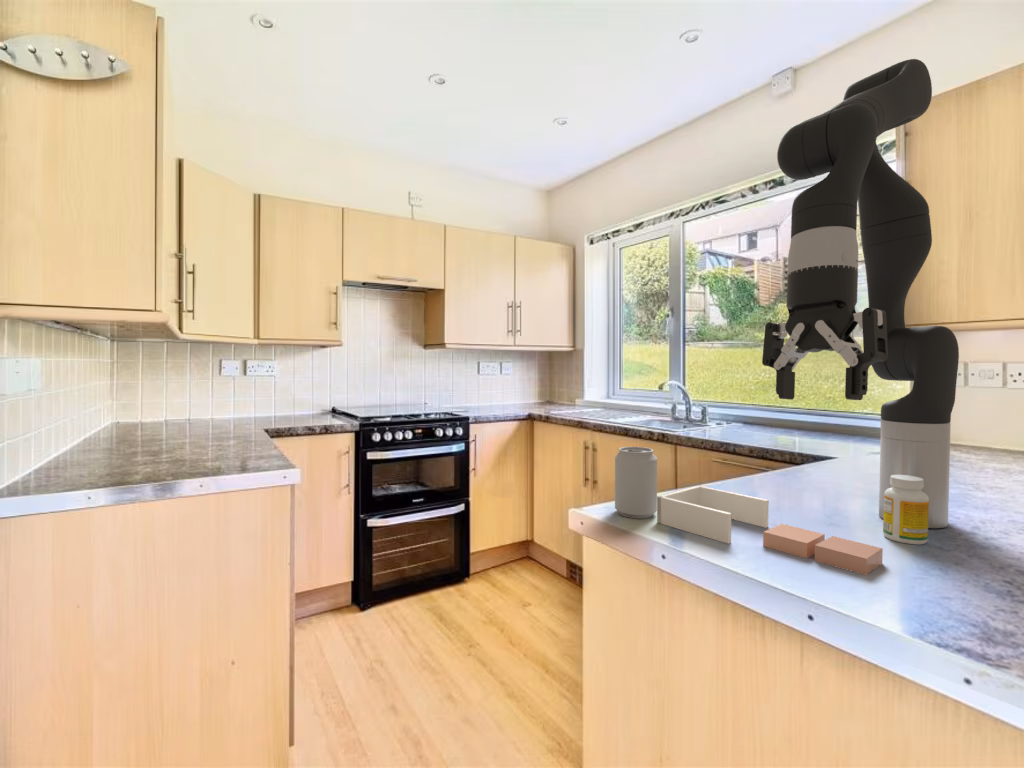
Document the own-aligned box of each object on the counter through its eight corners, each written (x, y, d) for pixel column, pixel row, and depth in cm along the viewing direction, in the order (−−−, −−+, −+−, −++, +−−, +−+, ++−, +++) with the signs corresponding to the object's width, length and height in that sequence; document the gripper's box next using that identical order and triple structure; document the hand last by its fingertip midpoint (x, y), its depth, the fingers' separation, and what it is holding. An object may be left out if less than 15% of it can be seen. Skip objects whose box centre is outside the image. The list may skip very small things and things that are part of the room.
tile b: (832, 553, 71) (832, 535, 70) (882, 566, 66) (882, 548, 66) (814, 562, 67) (814, 545, 67) (865, 578, 62) (866, 558, 62)
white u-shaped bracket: (698, 509, 91) (698, 485, 91) (768, 526, 81) (768, 500, 81) (657, 522, 84) (657, 496, 83) (728, 543, 73) (728, 514, 73)
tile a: (781, 539, 76) (781, 523, 76) (824, 551, 71) (824, 534, 71) (763, 548, 72) (763, 531, 72) (806, 560, 68) (807, 543, 68)
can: (652, 508, 92) (653, 445, 92) (660, 520, 85) (661, 452, 84) (612, 507, 93) (612, 444, 93) (617, 519, 85) (617, 451, 85)
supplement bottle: (875, 536, 76) (876, 475, 76) (894, 531, 79) (895, 472, 78) (916, 547, 71) (917, 482, 71) (935, 541, 74) (936, 479, 73)
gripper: (903, 262, 56) (900, 402, 56) (789, 286, 69) (785, 400, 69) (863, 251, 53) (859, 398, 53) (751, 278, 66) (747, 397, 66)
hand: (817, 399), depth 61 cm, fingers open, 8 cm apart
